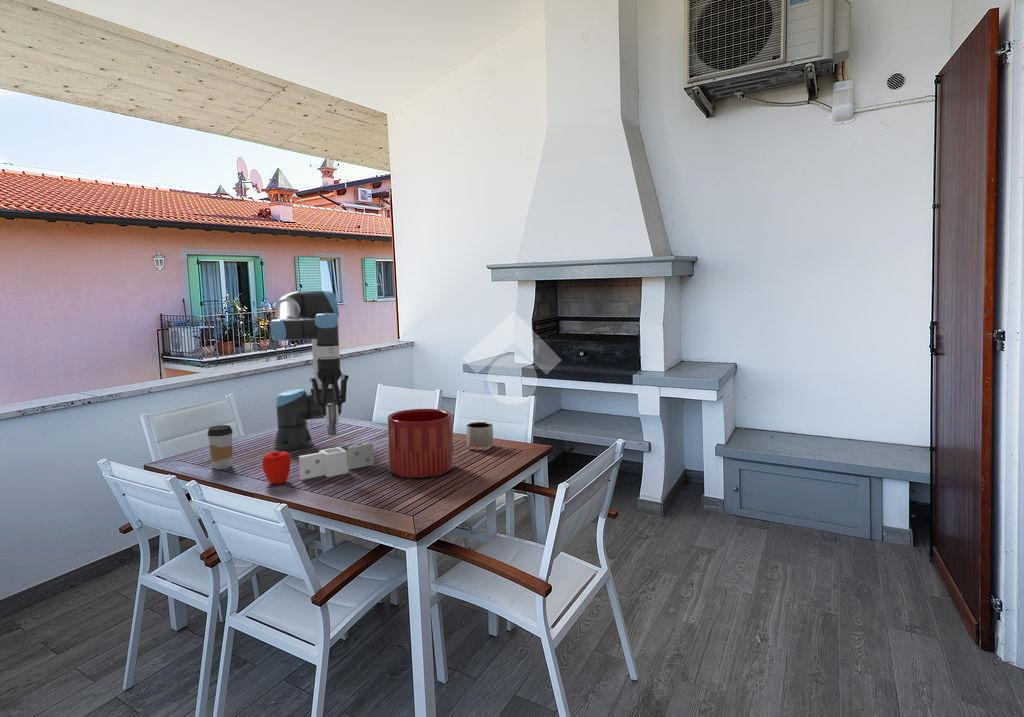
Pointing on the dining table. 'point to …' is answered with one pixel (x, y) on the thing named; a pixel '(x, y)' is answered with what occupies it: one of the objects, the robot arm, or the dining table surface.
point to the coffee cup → (220, 446)
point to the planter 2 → (479, 434)
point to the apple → (277, 466)
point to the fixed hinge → (324, 463)
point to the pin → (331, 419)
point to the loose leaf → (360, 456)
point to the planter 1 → (420, 442)
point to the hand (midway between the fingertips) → (331, 423)
